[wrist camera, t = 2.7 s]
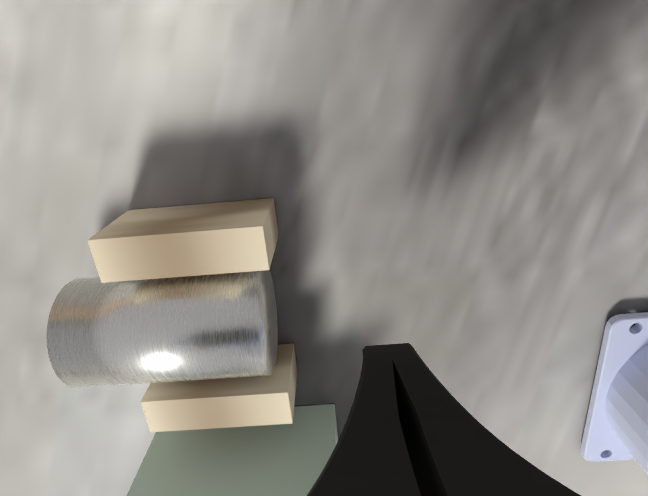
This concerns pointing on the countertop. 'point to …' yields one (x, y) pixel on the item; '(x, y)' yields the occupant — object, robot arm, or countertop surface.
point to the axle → (164, 329)
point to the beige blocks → (192, 260)
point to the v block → (240, 458)
